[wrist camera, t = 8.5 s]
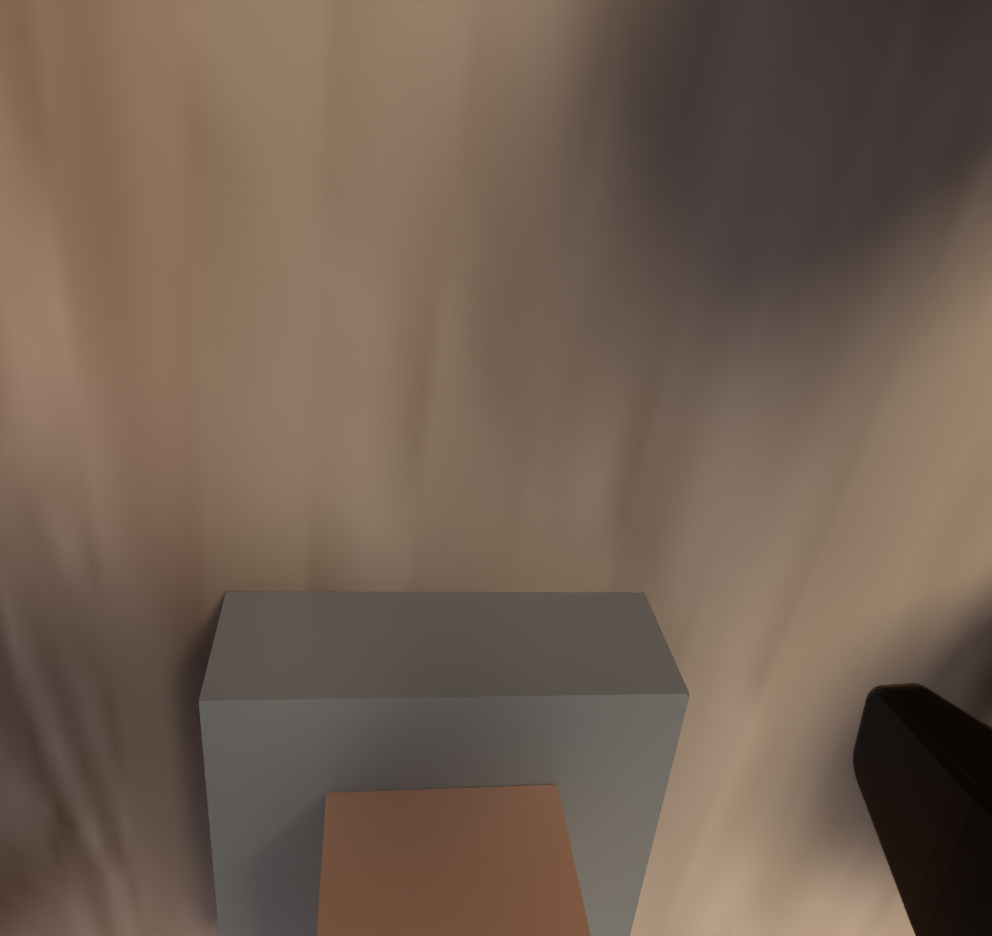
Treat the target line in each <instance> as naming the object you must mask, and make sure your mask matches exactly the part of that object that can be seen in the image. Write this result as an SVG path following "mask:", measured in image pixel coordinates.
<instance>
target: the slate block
mask: <svg viewBox="0 0 992 936" xmlns="http://www.w3.org/2000/svg"><path fill="white" fill-rule="evenodd" d="M688 697H689V692H688V690H687V687H686V685H685V683H684V681H683V678H682V676H681V674H680V672H679V669H678V667H677V665H676V663H675V661H674V658H673V656H672V654H671V652H670V649H669V647H668V645H667V643H666V640H665V638H664V636H663V634H662V631H661V629H660V627H659V625H658V623H657V620H656V618H655V616H654V614H653V611H652V609H651V607H650V605H649V602H648V600H647V598H646V596H645V594H644V593H571V592H258V591H226V594H225V598H224V602H223V605H222V609H221V613H220V617H219V621H218V625H217V629H216V633H215V637H214V641H213V645H212V649H211V653H210V657H209V661H208V665H207V669H206V673H205V677H204V681H203V685H202V689H201V693H200V697H199V711H200V723H201V735H202V746H203V758H204V769H205V781H206V793H207V804H208V816H209V827H210V839H211V850H212V862H213V874H214V885H215V897H216V908H217V920H218V931H219V936H317V921H318V906H319V891H320V877H321V862H322V847H323V833H324V818H325V803H326V793H334V792H362V791H390V790H417V789H445V788H473V787H500V786H528V785H556V784H557V787H558V791H559V796H560V800H561V805H562V809H563V814H564V818H565V823H566V827H567V831H568V836H569V840H570V845H571V849H572V854H573V858H574V863H575V867H576V872H577V876H578V881H579V885H580V890H581V894H582V899H583V903H584V908H585V912H586V917H587V921H588V925H589V930H590V934H591V936H630V932H631V928H632V924H633V920H634V916H635V912H636V907H637V903H638V899H639V895H640V891H641V887H642V883H643V879H644V875H645V871H646V867H647V863H648V859H649V855H650V851H651V847H652V843H653V839H654V835H655V831H656V827H657V822H658V818H659V814H660V810H661V806H662V802H663V798H664V794H665V790H666V786H667V782H668V778H669V774H670V770H671V766H672V762H673V758H674V754H675V750H676V746H677V742H678V737H679V733H680V729H681V725H682V721H683V717H684V713H685V709H686V705H687V701H688Z"/></svg>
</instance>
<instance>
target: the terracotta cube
mask: <svg viewBox="0 0 992 936" xmlns="http://www.w3.org/2000/svg"><path fill="white" fill-rule="evenodd" d="M317 936H591V934H590V930H589V925H588V921H587V917H586V912H585V908H584V903H583V899H582V894H581V890H580V885H579V881H578V876H577V872H576V867H575V863H574V858H573V854H572V849H571V845H570V840H569V836H568V831H567V827H566V823H565V818H564V814H563V809H562V805H561V800H560V796H559V791H558V787H557V784H556V785H528V786H500V787H473V788H445V789H417V790H390V791H362V792H334V793H326V803H325V818H324V833H323V847H322V862H321V877H320V891H319V906H318V921H317Z"/></svg>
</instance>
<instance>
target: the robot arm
mask: <svg viewBox="0 0 992 936" xmlns="http://www.w3.org/2000/svg"><path fill="white" fill-rule="evenodd" d="M853 765H854V772H855V776H856V779H857V782H858V785H859V788H860V790H861V793H862V796H863V798H864V801H865V804H866V806H867V809H868V812H869V814H870V817H871V820H872V822H873V825H874V828H875V830H876V833H877V836H878V838H879V841H880V844H881V846H882V849H883V851H884V854H885V857H886V859H887V862H888V865H889V867H890V870H891V873H892V875H893V878H894V881H895V883H896V886H897V889H898V891H899V894H900V897H901V899H902V902H903V905H904V907H905V910H906V913H907V915H908V918H909V920H910V923H911V925H912V928H913V930H914V933H915V935H916V936H992V727H990V726H988V725H987V724H985V723H984V722H982V721H980V720H979V719H977V718H976V717H974V716H972V715H971V714H969V713H967V712H966V711H964V710H963V709H961V708H959V707H958V706H956V705H955V704H953V703H951V702H950V701H948V700H947V699H945V698H943V697H942V696H940V695H939V694H937V693H935V692H934V691H932V690H931V689H929V688H927V687H925V686H923V685H920V684H917V683H904V684H893V685H881V686H877V687H874V688H873V689H872V690H871V691H870V692H869V694H868V695H867V698H866V701H865V705H864V710H863V714H862V718H861V722H860V726H859V730H858V734H857V738H856V742H855V747H854V752H853Z"/></svg>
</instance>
